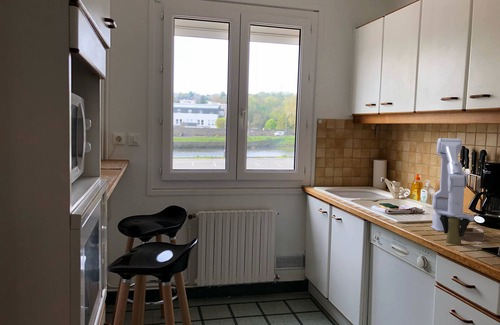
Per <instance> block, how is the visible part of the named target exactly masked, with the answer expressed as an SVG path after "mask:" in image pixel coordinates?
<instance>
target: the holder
mask: <svg viewBox="0 0 500 325" xmlns="http://www.w3.org/2000/svg"><path fill="white" fill-rule="evenodd" d="M484 239H485V232H483V231H481V230H479V229H478V228H474V227H467V228H466V230H465V233H464V236H463V237H461V241H475V242H484V241H485V240H484Z"/></svg>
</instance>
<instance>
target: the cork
mask: <svg viewBox="0 0 500 325" xmlns="http://www.w3.org/2000/svg"><path fill="white" fill-rule="evenodd" d="M460 220H462V219H459V218H457V216H456V217H449V218H448V223H449V228H448V233H447V234H446V239H445V243H446V244H449V245H453V246H458V245H459V246H460V245H462V240H461V237H460Z"/></svg>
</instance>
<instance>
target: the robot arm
mask: <svg viewBox="0 0 500 325" xmlns="http://www.w3.org/2000/svg"><path fill="white" fill-rule="evenodd" d="M462 148H463V141H462V139H461V138H448V137H447V138H446V137H444V138H441V137H439V138H438V139H437V141H436V155H438V156H439V157H440V173H439V174H440V178H439V189H438V190H437V191H436V192H434V193H433V195H432V199H431V206H432V208H431V209H432V210H434V211H433V213H432V223H431V224H432V225H430V226H429V227H430V228H432V229H433V230H435V231H438V232H444V233H443V234H444V235H447V233H448V228H449V223H448V218H449V217H457V218H459V219H461V220H460V237H463V236H464V233H465V230H466V228H468V226H469V224H470V223H471V222H473V221H475V215H472V214H467V213H464V203H465V202H464V201H465V200H464V199H465V189H466V187H467V184H468V182H467V179H468V178H467V174H465V172H464V170H463V164H462V163H461V162H460V161H459V154H460V153H461V151H462Z"/></svg>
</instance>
